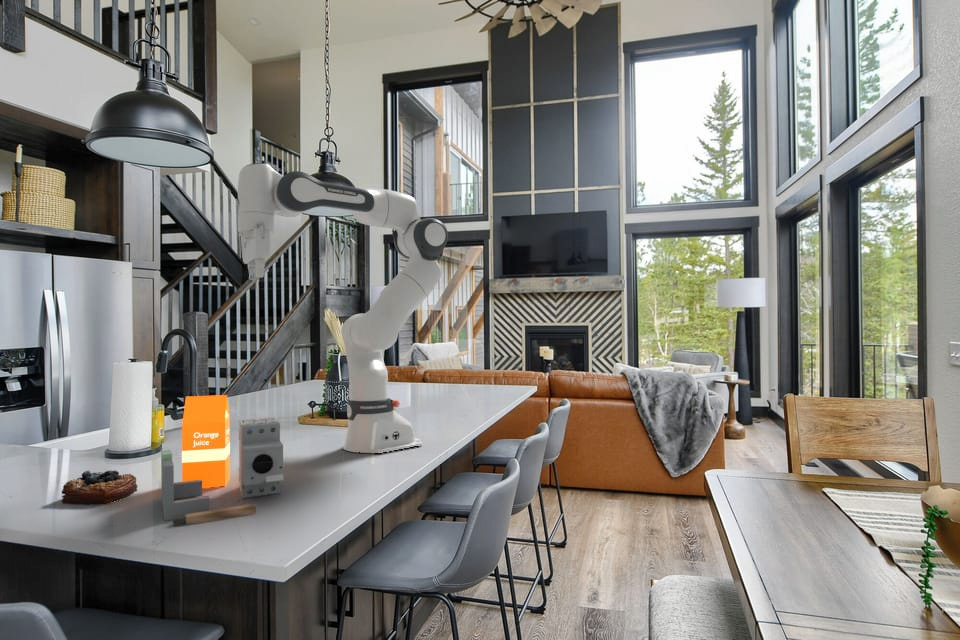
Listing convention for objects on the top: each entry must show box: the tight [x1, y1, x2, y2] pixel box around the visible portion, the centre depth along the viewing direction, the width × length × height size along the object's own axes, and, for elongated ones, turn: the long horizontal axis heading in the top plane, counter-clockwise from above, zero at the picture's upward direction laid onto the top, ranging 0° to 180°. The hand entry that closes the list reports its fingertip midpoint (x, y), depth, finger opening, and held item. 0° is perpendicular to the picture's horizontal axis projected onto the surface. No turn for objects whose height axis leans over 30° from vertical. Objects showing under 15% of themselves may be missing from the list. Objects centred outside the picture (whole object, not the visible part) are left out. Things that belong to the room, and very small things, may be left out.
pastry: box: [61, 470, 138, 506], centre depth 120 cm, size 11×12×6 cm
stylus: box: [172, 503, 257, 527], centre depth 107 cm, size 14×2×2 cm, turn 120°
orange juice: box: [181, 394, 231, 489], centre depth 129 cm, size 8×9×20 cm
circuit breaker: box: [238, 417, 284, 499], centre depth 121 cm, size 8×14×15 cm, turn 27°
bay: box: [160, 449, 210, 522], centre depth 114 cm, size 8×15×11 cm, turn 31°
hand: (256, 278), depth 149 cm, fingers open, 8 cm apart
